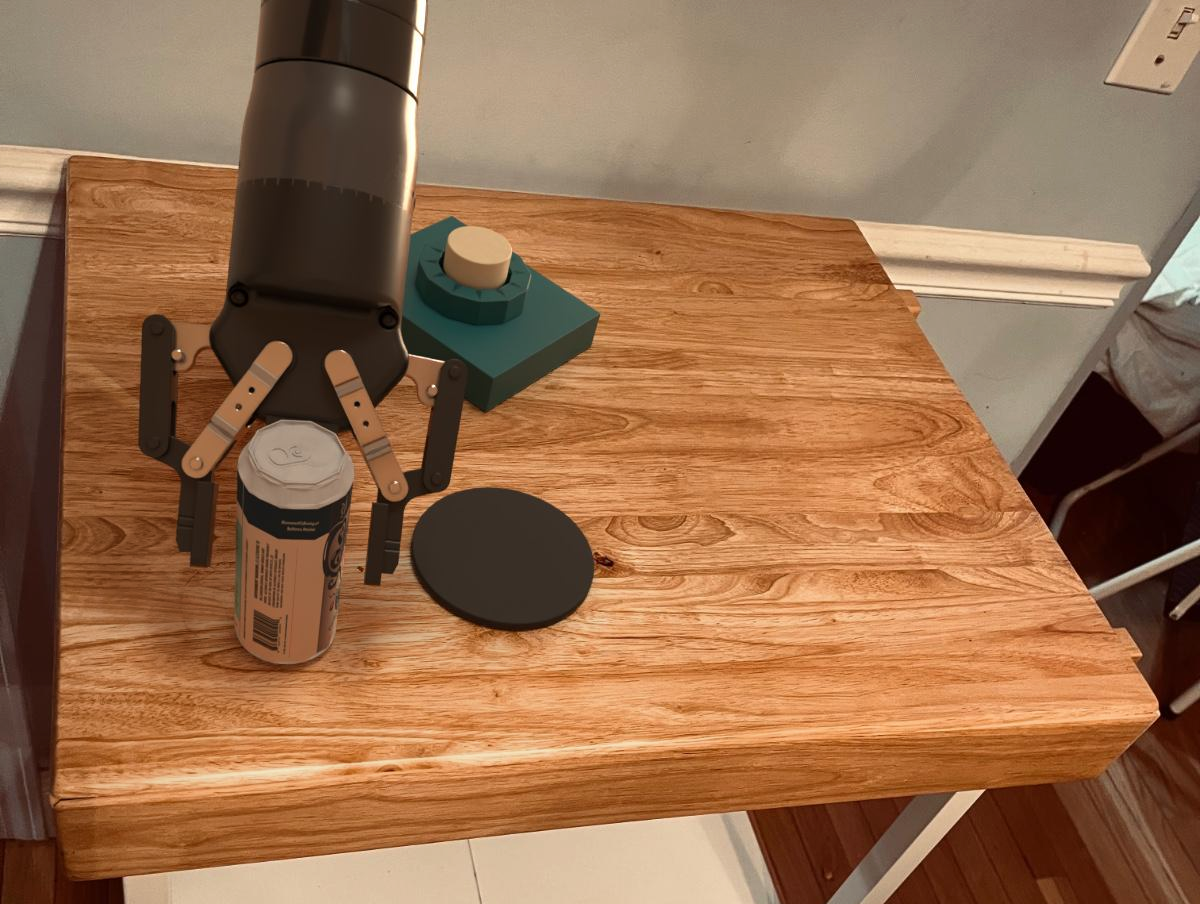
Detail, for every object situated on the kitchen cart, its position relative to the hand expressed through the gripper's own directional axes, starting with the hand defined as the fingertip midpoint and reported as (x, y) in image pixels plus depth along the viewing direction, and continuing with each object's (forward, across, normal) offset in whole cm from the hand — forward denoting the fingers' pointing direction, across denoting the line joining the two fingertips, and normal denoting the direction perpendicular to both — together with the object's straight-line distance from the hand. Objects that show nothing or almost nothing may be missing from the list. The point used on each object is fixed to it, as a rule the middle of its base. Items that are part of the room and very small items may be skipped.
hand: (288, 575), depth 53 cm
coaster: (-1, +11, +10) cm, 15 cm away
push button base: (-16, +9, +24) cm, 30 cm away
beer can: (+3, 0, +5) cm, 6 cm away
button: (-19, +9, +21) cm, 30 cm away
